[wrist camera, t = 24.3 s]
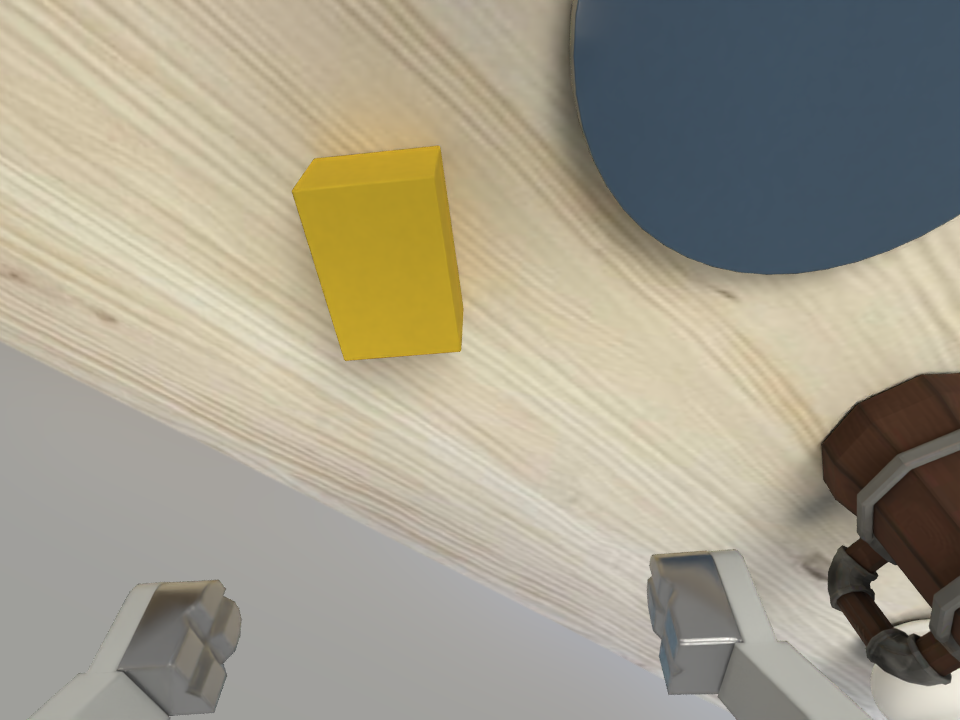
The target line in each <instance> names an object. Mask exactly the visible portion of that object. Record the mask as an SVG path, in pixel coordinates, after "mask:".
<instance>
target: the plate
mask: <svg viewBox="0 0 960 720" xmlns="http://www.w3.org/2000/svg"><path fill="white" fill-rule="evenodd" d="M569 55H570V69H571V83H572V91H573V96H574V101H575V106H576V111H577V116H578V121H579V123H580V126H581V129H582V132H583V135H584V138H585V141H586V144H587V147H588V150H589V152H590V154H591V156H592V159H593V161H594V163H595V165H596V167H597V169H598V171H599V173H600V175H601V176H602V178H603V180H604V182H605V184H606V186H607V188H608V189H609V190H610V192H611V193H612V195H613V196H614V197H615V199H616V200H617V202H618V203H619V204H620V206H621V207H622V209H623V210H624V211H625V212H626V213H627V214H628V215H629V216H630V217H631V218H632V219H633V220H634V221H635V222H636V223H637V224H638V225H639V226H640V227H641V228H642V229H643V230H644V231H646V232H647V233H648V234H650V235H651V236H652V237H654V238H655V239H656V240H658V241H659V242H660V243H662V244H663V245H665V246H667V247H668V248H670V249H672V250H674V251H676V252H678V253H680V254H681V255H683V256H685V257H687V258H690V259H693V260H695V261H698V262H701V263H704V264H706V265H709V266H712V267H717V268H721V269H726V270H731V271H735V272H741V273H753V274H765V275H772V274H798V273H805V272H812V271H819V270H826V269H830V268H834V267H838V266H842V265H846V264H850V263H855V262H858V261H861V260H864V259H867V258H870V257H873V256H875V255H878V254H881V253H884V252H887V251H890V250H892V249H894V248H896V247H899V246H901V245H903V244H905V243H908V242H910V241H912V240H914V239H916V238H919V237H921V236H923V235H925V234H926V233H928V232H930V231H932V230H934V229H935V228H937V227H939V226H941V225H943V224H945V223H946V222H948V221H950V220H952V219H954V218H955V217H957V216H958V215H960V0H573V2H572V8H571V23H570V43H569Z"/></svg>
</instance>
